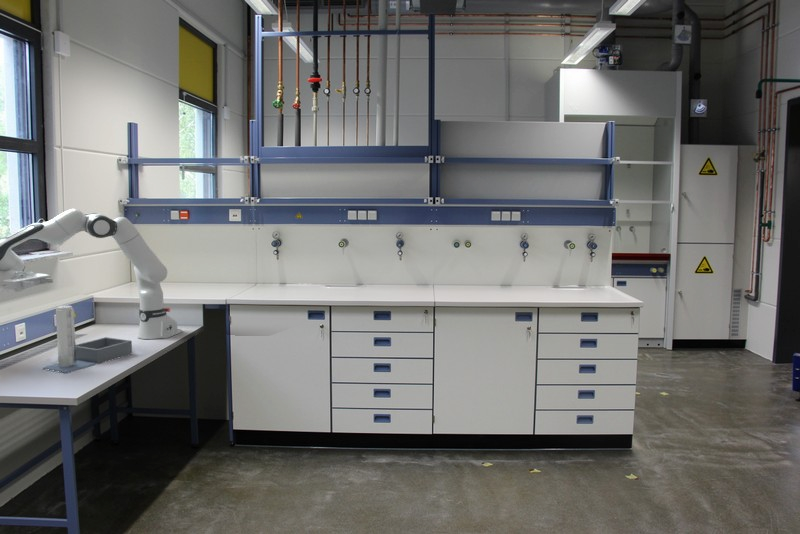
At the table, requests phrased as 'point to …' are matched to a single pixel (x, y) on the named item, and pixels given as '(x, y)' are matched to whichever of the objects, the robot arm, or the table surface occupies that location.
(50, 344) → the table surface
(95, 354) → the gray open bin
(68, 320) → the light grey tall bar
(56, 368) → the mat
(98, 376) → the table surface
